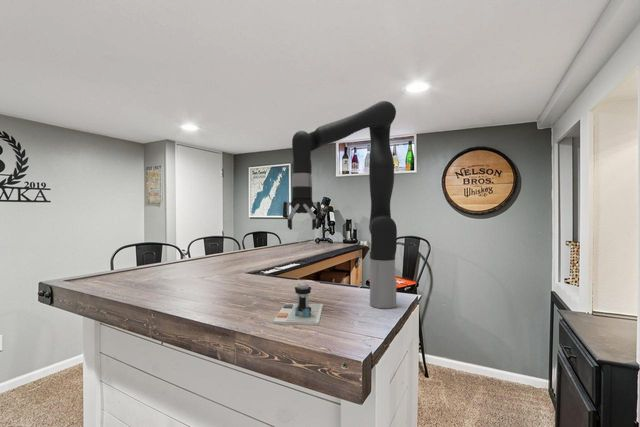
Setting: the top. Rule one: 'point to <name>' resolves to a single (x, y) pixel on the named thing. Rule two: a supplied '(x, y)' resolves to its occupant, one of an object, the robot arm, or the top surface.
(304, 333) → the top surface
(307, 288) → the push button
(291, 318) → the board
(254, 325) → the top surface
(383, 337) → the top surface
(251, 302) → the top surface
